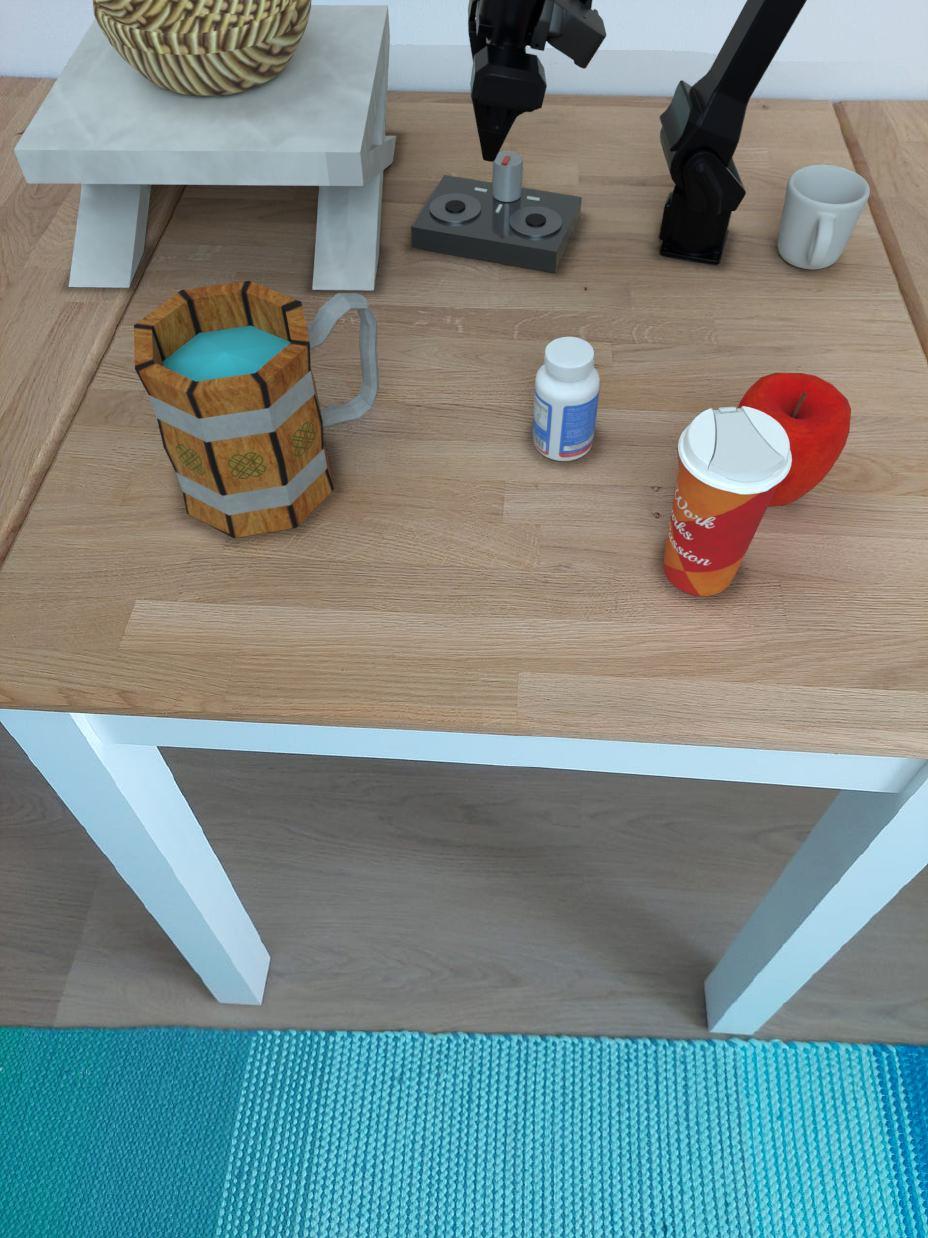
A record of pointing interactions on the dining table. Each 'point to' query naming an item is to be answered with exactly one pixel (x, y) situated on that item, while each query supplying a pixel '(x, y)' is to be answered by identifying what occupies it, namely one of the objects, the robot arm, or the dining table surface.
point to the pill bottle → (566, 400)
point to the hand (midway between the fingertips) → (487, 135)
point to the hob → (497, 227)
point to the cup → (820, 214)
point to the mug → (247, 400)
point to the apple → (803, 426)
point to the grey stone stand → (219, 122)
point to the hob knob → (507, 176)
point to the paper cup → (722, 494)
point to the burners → (521, 221)
